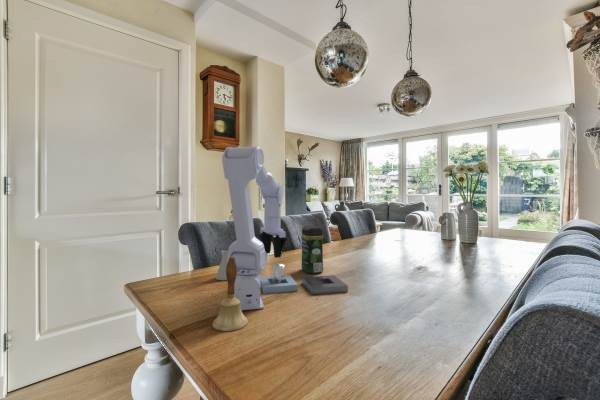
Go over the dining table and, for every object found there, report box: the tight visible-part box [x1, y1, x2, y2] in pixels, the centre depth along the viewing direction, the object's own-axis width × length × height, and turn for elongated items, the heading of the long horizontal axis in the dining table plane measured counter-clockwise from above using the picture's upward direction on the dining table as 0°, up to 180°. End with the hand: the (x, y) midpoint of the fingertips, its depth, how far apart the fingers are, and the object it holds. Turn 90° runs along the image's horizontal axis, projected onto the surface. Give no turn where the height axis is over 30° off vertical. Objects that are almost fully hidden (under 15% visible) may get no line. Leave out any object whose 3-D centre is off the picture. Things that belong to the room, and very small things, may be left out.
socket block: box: [301, 274, 349, 296], centre depth 96 cm, size 12×12×2 cm
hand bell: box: [211, 257, 249, 332], centre depth 69 cm, size 8×8×16 cm
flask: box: [215, 250, 229, 281], centre depth 105 cm, size 7×7×10 cm
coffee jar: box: [301, 224, 324, 275], centre depth 116 cm, size 10×8×19 cm
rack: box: [260, 274, 299, 294], centre depth 96 cm, size 11×11×2 cm
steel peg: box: [272, 262, 286, 284], centre depth 96 cm, size 4×4×8 cm
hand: (272, 255), depth 101 cm, fingers open, 7 cm apart
